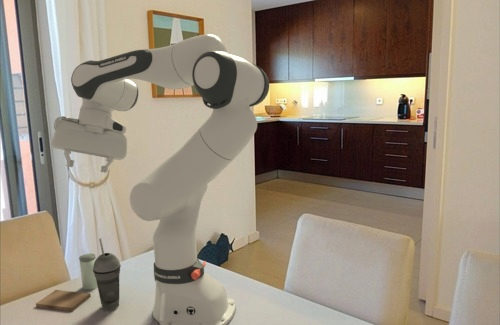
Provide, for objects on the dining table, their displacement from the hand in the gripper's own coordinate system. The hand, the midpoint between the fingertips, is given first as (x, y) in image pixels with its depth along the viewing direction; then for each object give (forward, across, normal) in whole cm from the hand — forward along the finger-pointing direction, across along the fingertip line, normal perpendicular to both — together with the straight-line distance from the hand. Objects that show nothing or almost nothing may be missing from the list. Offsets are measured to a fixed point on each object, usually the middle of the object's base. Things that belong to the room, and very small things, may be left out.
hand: (87, 169), depth 115 cm
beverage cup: (+38, +12, 0) cm, 39 cm away
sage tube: (+34, +10, +15) cm, 38 cm away
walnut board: (+37, +2, +11) cm, 39 cm away
